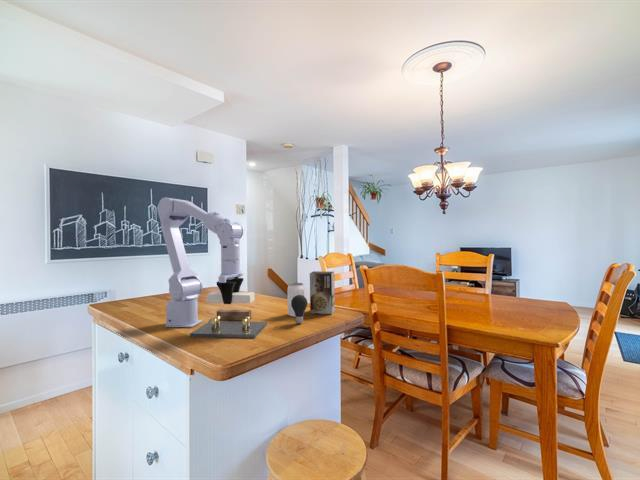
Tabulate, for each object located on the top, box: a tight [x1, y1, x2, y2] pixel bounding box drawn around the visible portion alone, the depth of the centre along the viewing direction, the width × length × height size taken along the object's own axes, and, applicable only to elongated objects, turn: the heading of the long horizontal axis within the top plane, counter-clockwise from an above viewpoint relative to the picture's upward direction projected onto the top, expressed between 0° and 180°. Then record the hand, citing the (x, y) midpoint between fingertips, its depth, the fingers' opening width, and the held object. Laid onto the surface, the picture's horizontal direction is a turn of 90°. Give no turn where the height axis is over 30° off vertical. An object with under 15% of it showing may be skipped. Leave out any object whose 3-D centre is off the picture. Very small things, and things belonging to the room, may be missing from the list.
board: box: [206, 291, 256, 304], centre depth 98 cm, size 14×5×2 cm, turn 86°
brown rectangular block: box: [216, 309, 252, 321], centre depth 112 cm, size 12×3×3 cm, turn 86°
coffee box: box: [309, 270, 336, 315], centre depth 122 cm, size 9×6×16 cm
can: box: [287, 282, 305, 318], centre depth 118 cm, size 6×6×12 cm
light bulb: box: [291, 295, 308, 325], centre depth 105 cm, size 6×6×10 cm
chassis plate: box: [189, 315, 268, 339], centre depth 98 cm, size 20×14×4 cm
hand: (230, 302), depth 98 cm, fingers closed on board, 5 cm apart
